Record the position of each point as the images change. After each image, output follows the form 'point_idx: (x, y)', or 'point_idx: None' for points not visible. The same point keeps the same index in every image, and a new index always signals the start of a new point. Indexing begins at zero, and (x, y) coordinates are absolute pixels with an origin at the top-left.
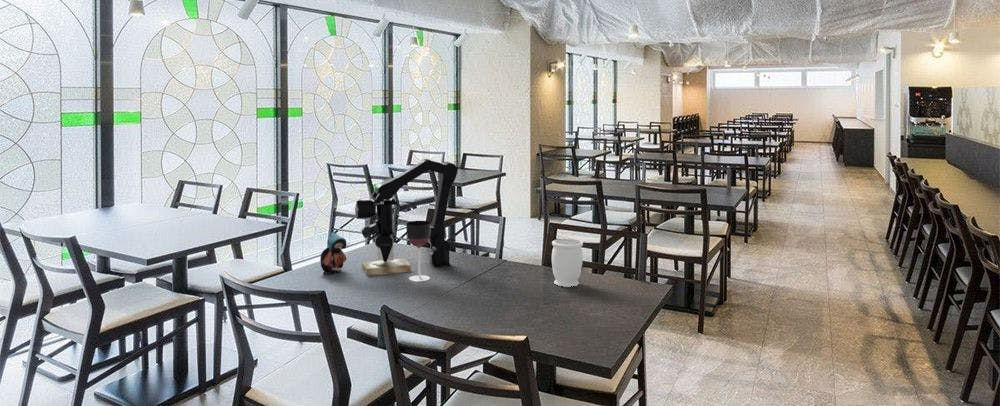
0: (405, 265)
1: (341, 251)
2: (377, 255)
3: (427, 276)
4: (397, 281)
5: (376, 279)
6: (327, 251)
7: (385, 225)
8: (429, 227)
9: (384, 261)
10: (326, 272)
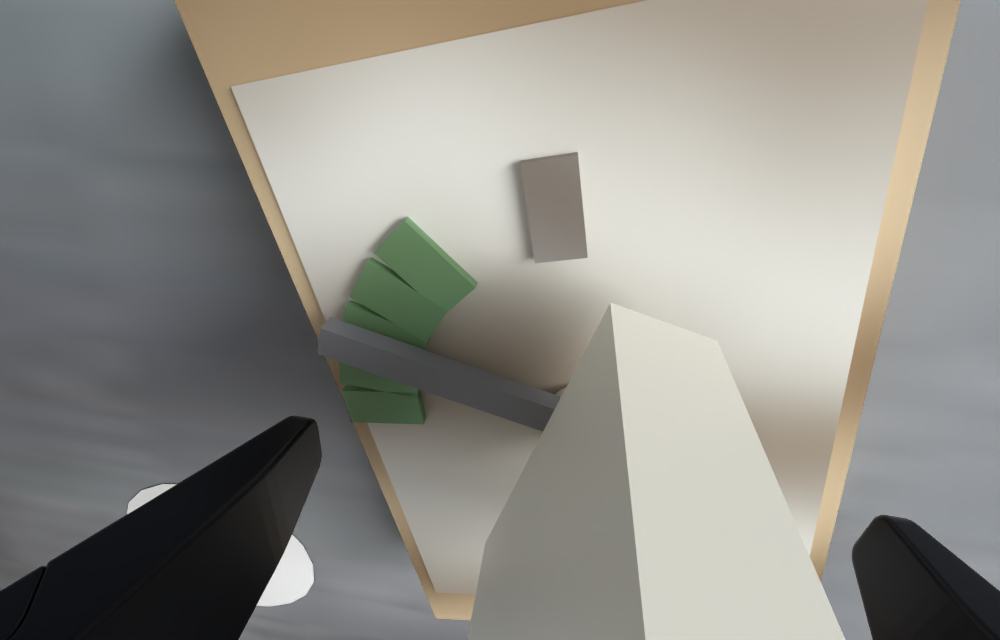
0: (421, 578)
1: None
2: (614, 385)
3: (269, 600)
4: (78, 385)
5: (92, 155)
6: None
7: None
8: None
9: (294, 428)
10: None
